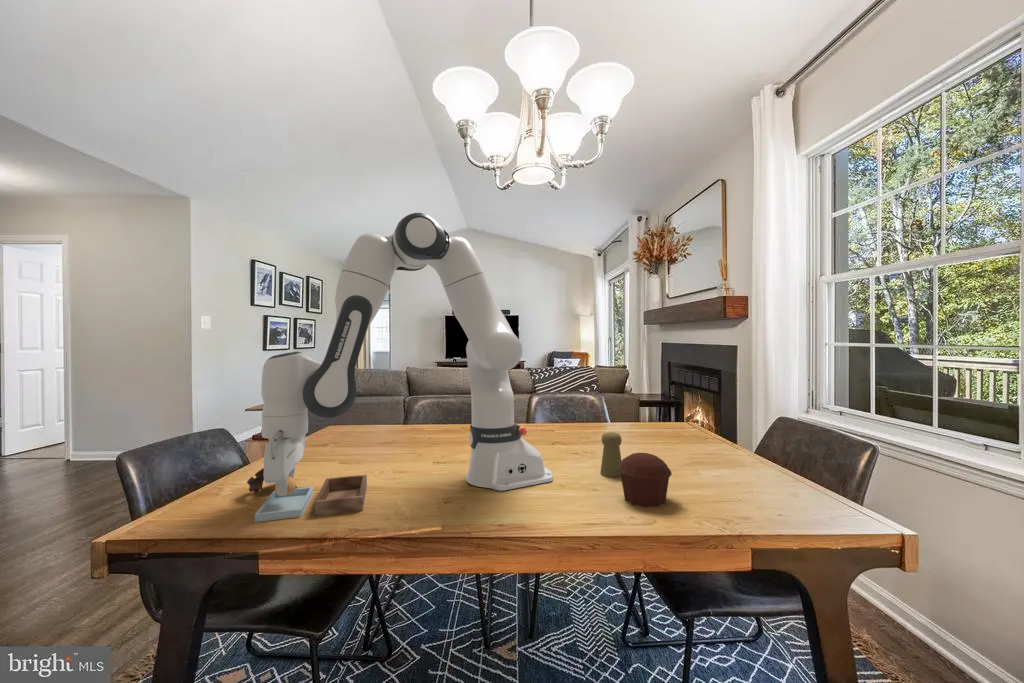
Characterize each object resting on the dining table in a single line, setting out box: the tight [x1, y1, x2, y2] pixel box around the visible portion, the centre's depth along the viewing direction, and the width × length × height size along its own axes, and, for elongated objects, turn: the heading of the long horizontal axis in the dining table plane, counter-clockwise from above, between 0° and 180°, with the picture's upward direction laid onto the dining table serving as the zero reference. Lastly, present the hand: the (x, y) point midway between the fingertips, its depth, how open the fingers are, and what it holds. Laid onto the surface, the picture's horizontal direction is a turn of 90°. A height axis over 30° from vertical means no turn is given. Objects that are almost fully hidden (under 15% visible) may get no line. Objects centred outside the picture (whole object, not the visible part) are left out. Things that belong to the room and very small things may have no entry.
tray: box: [253, 486, 315, 523], centre depth 91 cm, size 8×14×2 cm, turn 16°
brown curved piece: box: [246, 467, 298, 494], centre depth 103 cm, size 12×10×8 cm
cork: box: [600, 431, 623, 479], centre depth 112 cm, size 6×6×11 cm
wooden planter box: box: [314, 474, 368, 517], centre depth 95 cm, size 9×16×4 cm, turn 16°
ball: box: [274, 477, 297, 496], centre depth 91 cm, size 4×4×4 cm
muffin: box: [618, 452, 672, 508], centre depth 94 cm, size 12×11×10 cm
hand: (285, 490), depth 91 cm, fingers closed on ball, 4 cm apart
